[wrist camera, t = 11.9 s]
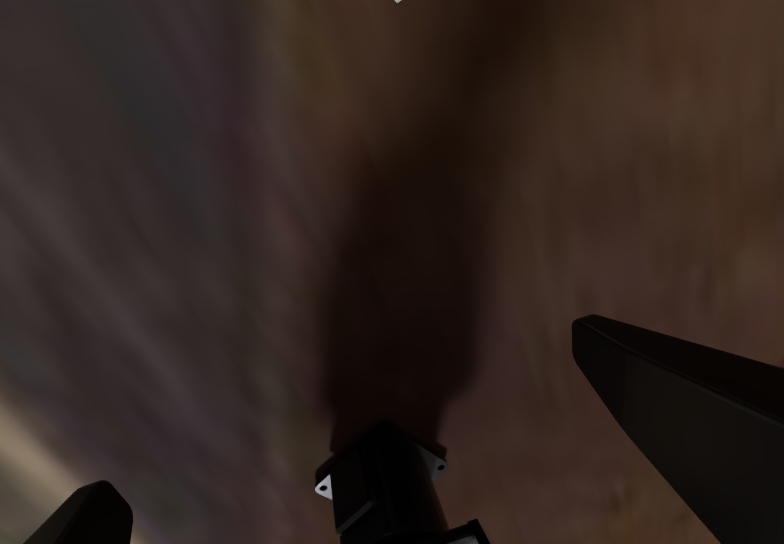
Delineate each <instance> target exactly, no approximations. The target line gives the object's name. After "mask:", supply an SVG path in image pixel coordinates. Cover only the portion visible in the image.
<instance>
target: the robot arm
mask: <svg viewBox="0 0 784 544" xmlns="http://www.w3.org/2000/svg"><path fill="white" fill-rule="evenodd" d="M572 352H573V357H574V360H575V362H576V364H577V365H578V367H579V368H580V369H581V371H582V372H583V374H584V375H585V377H586V378H587V380H588V381H589V382H590V384H591V385H592V387H593V388H594V390H595V391H596V392H597V394H598V395H599V397H600V398H601V400H602V401H603V402H604V404H605V405H606V407H607V408H608V410H609V411H610V412H611V414H612V415H613V417H614V418H615V420H616V421H617V422H618V424H619V425H620V426H621V428H622V429H623V430H624V431H625V433H626V434H627V435H628V436H629V437H630V439H631V440H632V441H633V442H634V443H635V445H636V446H637V447H638V448H639V449H640V450H641V452H642V453H643V454H644V455H645V456H646V457H647V458H648V460H649V461H650V462H651V463H652V464H653V465H654V467H655V468H656V469H657V470H658V471H659V472H660V474H661V475H662V476H663V477H664V478H665V479H666V481H667V482H668V483H669V484H670V485H671V486H672V488H673V489H674V490H675V491H676V492H677V493H678V495H679V496H680V497H681V498H682V499H683V500H684V501H685V503H686V504H687V505H688V506H689V507H690V508H691V510H692V511H693V512H694V513H695V514H696V515H697V517H698V518H699V519H700V520H701V521H702V522H703V524H704V525H705V526H706V527H707V528H708V529H709V531H710V532H711V533H712V534H713V535H714V536H715V538H716V539H717V540H718V541H719V542H720V543H721V544H784V368H780V367H777V366H774V365H770V364H767V363H763V362H760V361H756V360H753V359H749V358H746V357H742V356H739V355H735V354H732V353H728V352H725V351H721V350H718V349H714V348H711V347H707V346H704V345H700V344H697V343H693V342H690V341H686V340H683V339H679V338H676V337H672V336H669V335H665V334H662V333H658V332H655V331H651V330H648V329H644V328H641V327H638V326H634V325H631V324H627V323H624V322H620V321H617V320H613V319H610V318H606V317H603V316H599V315H595V314H591V315H587V316H584V317H581V318H578V319H576V320H574V321H573V323H572ZM384 430H386V431H384ZM447 468H448V463H447V461H446V459H445V458H444V457H442V456H441V455H439V454H437V453H436V452H434V451H433V450H431V449H430V448H428V447H427V446H425V445H424V444H422V443H420V442H419V441H417V440H416V439H414V438H413V437H411V436H410V435H408V434H407V433H405V432H404V431H402V430H400V429H399V428H397V427H396V426H394V425H393V424H391V423H389V422H382V423H380V424H379V425H378V426H376V427H375V428H374V429H373V430H372V431H371V432H370V433H369V434H368V435H366V436H365V437H364V438H363V439H362V440H361V441H360V442H359V443H358V444H356V445H355V446H354V447H353V448H352V449H351V450H350V451H349V452H348V453H346V454H345V455H344V456H343V457H342V458H341V459H340V460H339V461H337V462H336V463H335V464H334V465H333V466H332V467H331V468H330V469H329V470H327V471H326V472H325V473H324V474H323V475H322V476H321V477H320V478H319V479H317V481H316V482H315V490H316V492H317V493H319V494H321V495H323V496H325V497H327V498H329V499H331V500H333V510H334V519H335V528H336V533H337V534H338V535H340V543H341V544H490V542H489V540H488V538H487V537H486V535H485V533H484V531H483V529H482V527H481V525H480V523H479V521H478V520H477V519H474V520H471V521H468V522H467V523H468V524H465V525H462V526H459V527H456V528H453V529H449V527H448V524H447V521H446V518H445V515H444V513H443V510H442V507H441V504H440V501H439V499H438V496H437V493H436V490H435V488H434V485H433V481H434V480H435V479H436V478H437V477H439V476H440V475H441V474H442V473H443V472H445V471H446V470H447ZM132 524H133V514H132V510H131V507H130V506H129V504H128V503H127V502H126V501H125V499H124V498H123V497H122V496H121V495H120V494H119V492H118V491H117V490H116V489H115V488H114V487H113V485H112V484H111V483H110V482H108V481H105V480H101V481H97V482H94V483H91V484H89V485H86V486H83V487H81V488H79V489H77V490H76V491H75V492H74V493H73V494H72V495H71V496H70V497H69V498H68V499H67V500H66V501H65V502H64V503H63V504H62V505H61V506H60V507H59V508H58V509H57V510H56V511H55V512H54V513H53V514H52V515H51V516H50V517H49V518H48V519H47V520H46V521H45V522H44V523H43V524H42V525H41V526H40V527H39V528H38V529H37V530H36V531H35V532H34V533H33V534H32V535H31V536H30V537H29V538H28V539H27V540H26V541H25V542H24V543H23V544H130V540H131V532H132Z"/></svg>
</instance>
